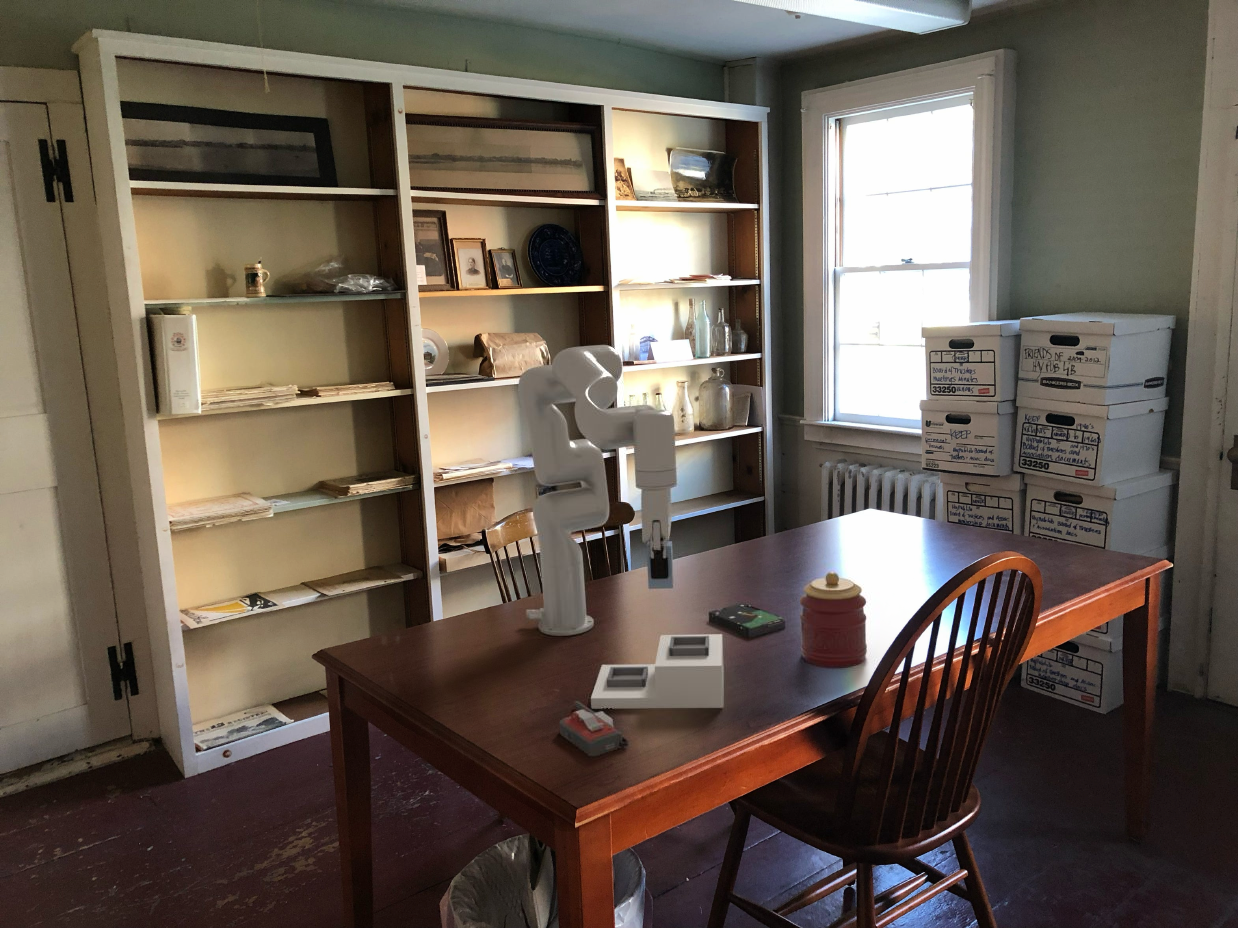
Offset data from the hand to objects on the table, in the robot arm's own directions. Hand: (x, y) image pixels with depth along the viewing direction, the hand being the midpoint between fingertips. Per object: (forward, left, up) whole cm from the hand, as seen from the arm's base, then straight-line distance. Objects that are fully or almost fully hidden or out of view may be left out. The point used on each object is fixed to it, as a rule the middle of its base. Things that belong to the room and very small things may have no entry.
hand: (660, 574), depth 179 cm
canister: (+33, +16, -23) cm, 43 cm away
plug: (0, 0, -2) cm, 2 cm away
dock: (-1, 0, -23) cm, 23 cm away
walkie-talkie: (-13, -17, -23) cm, 32 cm away
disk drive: (+16, +36, -24) cm, 46 cm away
